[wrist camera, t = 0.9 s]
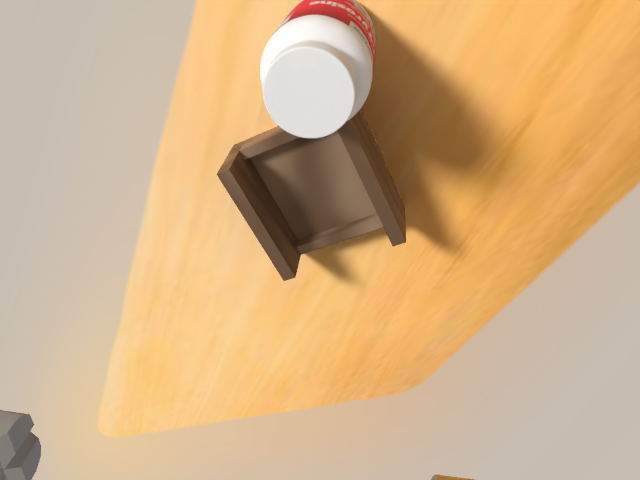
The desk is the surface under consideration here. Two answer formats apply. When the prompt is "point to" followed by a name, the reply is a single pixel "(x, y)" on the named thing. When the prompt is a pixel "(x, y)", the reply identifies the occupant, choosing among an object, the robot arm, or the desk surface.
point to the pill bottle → (318, 67)
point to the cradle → (312, 190)
